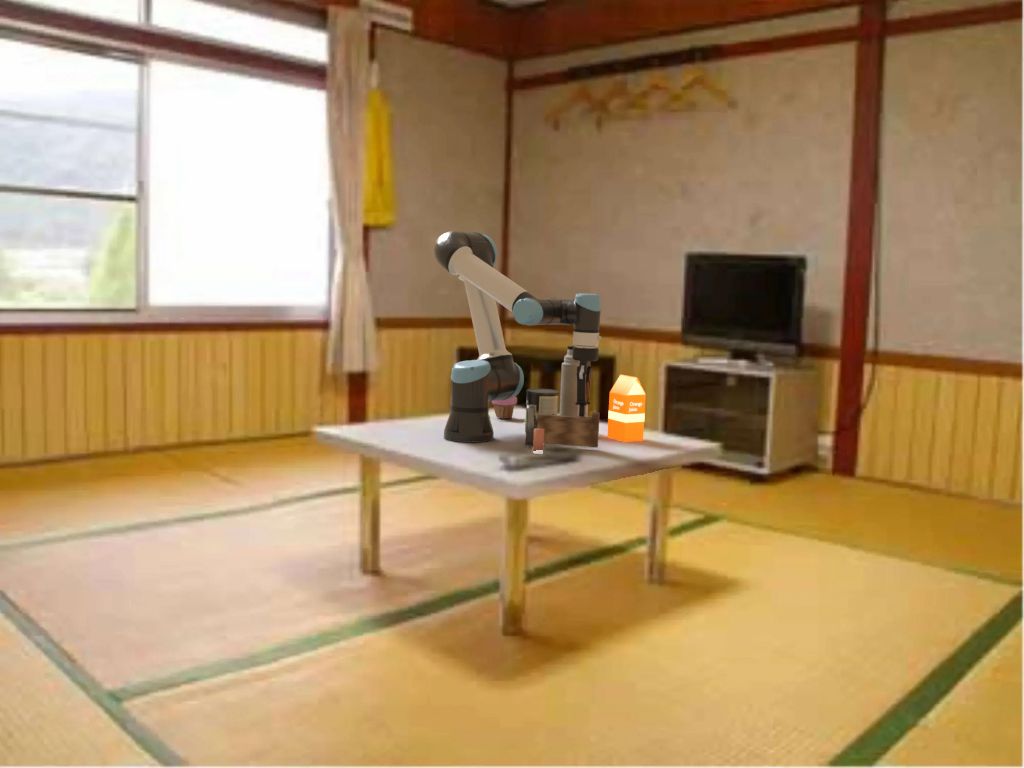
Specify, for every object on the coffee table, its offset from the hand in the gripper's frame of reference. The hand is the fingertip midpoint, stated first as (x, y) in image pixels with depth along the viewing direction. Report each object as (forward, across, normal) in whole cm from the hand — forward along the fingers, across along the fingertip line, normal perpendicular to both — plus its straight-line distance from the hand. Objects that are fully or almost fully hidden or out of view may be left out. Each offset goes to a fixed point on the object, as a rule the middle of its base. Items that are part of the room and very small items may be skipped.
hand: (581, 426), depth 277 cm
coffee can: (+7, +17, +16) cm, 25 cm away
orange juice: (+7, +22, -10) cm, 25 cm away
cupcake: (+7, +44, +35) cm, 57 cm away
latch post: (+6, -14, +10) cm, 18 cm away
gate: (+5, -2, +4) cm, 7 cm away
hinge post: (+6, -3, +15) cm, 16 cm away
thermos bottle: (+7, +26, +8) cm, 28 cm away
